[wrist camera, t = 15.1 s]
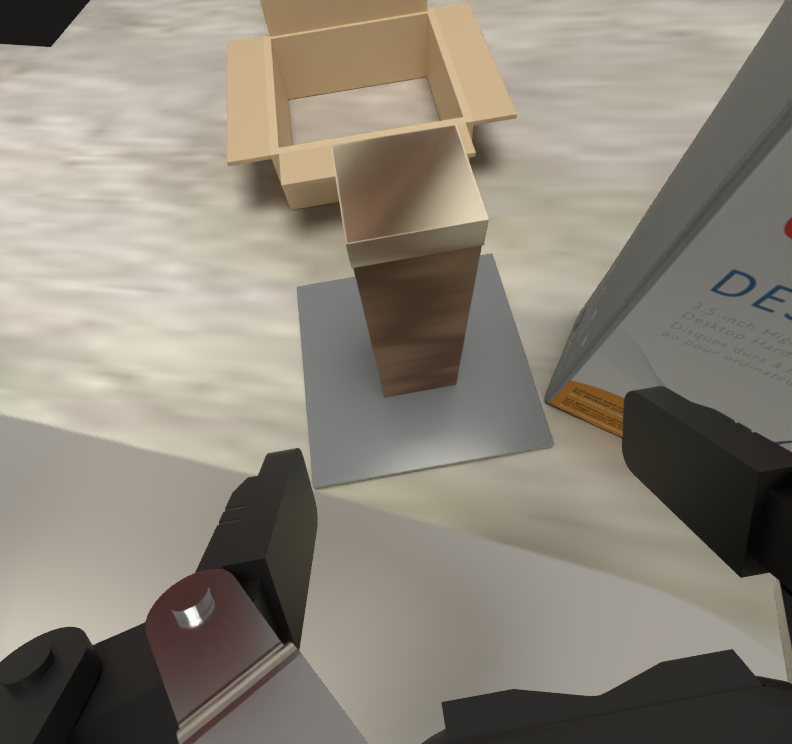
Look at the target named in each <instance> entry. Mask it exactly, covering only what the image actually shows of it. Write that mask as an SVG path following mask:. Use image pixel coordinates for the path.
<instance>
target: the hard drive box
mask: <svg viewBox="0 0 792 744" xmlns="http://www.w3.org/2000/svg"><path fill="white" fill-rule="evenodd" d="M656 386H664V387H666V388H668V389H670V390H672V391H673V392H675V393H677V394H679V395H680V396H682V397H684V398H686V399H687V400H689V401H691V402H693V403H697V404H700V405H703V406H706V407H709V408H713V409H715V410H717V411H719V412H721V413H723V414H724V415H726V416H728V417H730V418H732V419H733V420H735V423H738V422H739V423H741V424H742V425H744V426H746V427H748V428H750V429H751V431H752V432H757V433H759V434H760V435H762V436H764V437H766V438H767V439H769V440H771V441H773V442H775V443H776V444H778V445H780V446H782V447H784V448H785V449H787V450H789V451H791V452H792V0H785V1H784V3H783V5H782V6H781V8H780V10H779V11H778V13H777V14H776V16H775V17H774V19H773V20H772V22H771V23H770V25H769V26H768V28H767V29H766V31H765V33H764V34H763V36H762V37H761V39H760V40H759V42H758V43H757V45H756V46H755V48H754V49H753V51H752V52H751V54H750V55H749V57H748V58H747V60H746V61H745V63H744V65H743V66H742V68H741V69H740V71H739V72H738V74H737V75H736V77H735V78H734V80H733V82H732V83H731V85H730V86H729V88H728V89H727V91H726V92H725V94H724V95H723V97H722V98H721V100H720V101H719V103H718V104H717V106H716V107H715V109H714V110H713V112H712V113H711V115H710V116H709V118H708V120H707V121H706V123H705V124H704V125H703V127H702V128H701V130H700V131H699V133H698V134H697V136H696V138H695V139H694V141H693V142H692V144H691V145H690V147H689V148H688V150H687V151H686V153H685V154H684V156H683V157H682V159H681V160H680V162H679V163H678V165H677V166H676V168H675V169H674V171H673V172H672V174H671V175H670V177H669V178H668V180H667V181H666V183H665V185H664V186H663V188H662V189H661V191H660V192H659V194H658V195H657V197H656V198H655V200H654V201H653V203H652V205H651V206H650V208H649V209H648V211H647V212H646V214H645V215H644V217H643V218H642V220H641V222H640V223H639V225H638V226H637V228H636V229H635V231H634V232H633V234H632V235H631V237H630V239H629V240H628V242H627V243H626V245H625V246H624V248H623V249H622V251H621V252H620V254H619V255H618V257H617V258H616V260H615V261H614V263H613V265H612V266H611V268H610V269H609V271H608V272H607V274H606V275H605V277H604V278H603V280H602V281H601V283H600V284H599V285H598V287H597V288H596V290H595V292H594V293H593V294H592V296H591V297H590V299H589V300H588V302H587V303H586V304H585V306H584V307H583V308H582V310H581V311H580V313H579V316H578V318H577V320H576V323H575V325H574V327H573V330H572V332H571V334H570V337H569V339H568V341H567V344H566V346H565V349H564V351H563V354H562V356H561V359H560V361H559V363H558V366H557V368H556V371H555V373H554V376H553V378H552V381H551V383H550V386H549V388H548V390H547V393H546V397H545V401H546V402H548V403H550V404H552V405H554V406H556V407H558V408H561V409H563V410H565V411H567V412H569V413H571V414H574V415H576V416H578V417H580V418H582V419H584V420H586V421H588V422H590V423H591V424H593V425H595V426H597V427H600V428H602V429H604V430H606V431H609V432H611V433H614V434H616V435H619V436H621V437H622V436H623V410H624V398H625V395H626V394H627V393H628V392H629V391H633V390H639V389H644V388H650V387H656Z"/></svg>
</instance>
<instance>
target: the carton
mask: <svg viewBox="0 0 792 744" xmlns="http://www.w3.org/2000/svg"><path fill="white" fill-rule="evenodd" d="M260 2H261V6H262V9H263V13H264V16H265V19H266V23H267V26H268V30H269V33H270V35H266V36H260V37H254V38H248V39H242V40H236V41H230V42H227V164H228V166H233V165H239V164H245V163H251V162H257V161H263V160H269V159H272V161H273V164H274V166H275V169H276V172H277V174H278V177H279V180H280V182H281V186H282V189H283V190H284V193H285V196H286V198H287V201H288V203H289V206H290V209H291V210H295V209H300V208H306V207H312V206H318V205H324V204H330V203H336V202H339V196H338V190H337V183H336V177H335V170H334V164H333V157H332V151H331V145H336V144H342V143H348V142H354V141H360V140H365V139H371V138H377V137H383V136H389V135H395V134H400V133H406V132H412V131H418V130H424V129H430V128H435V127H441V126H447V125H453V124H456V125H457V128H458V131H459V134H460V137H461V140H462V143H463V146H464V149H465V152H466V154H467V157H468V160H470V157H475V155H476V152H475V149H474V146H473V143H472V134H473V125H478V124H484V123H490V122H496V121H502V120H508V119H514V118H516V115H517V114H516V111H515V109H514V107H513V104H512V102H511V100H510V97H509V95H508V93H507V90H506V88H505V86H504V83H503V81H502V79H501V76H500V74H499V72H498V69H497V67H496V64H495V62H494V60H493V57H492V55H491V53H490V50H489V48H488V46H487V43H486V41H485V39H484V36H483V34H482V32H481V29H480V27H479V25H478V22H477V20H476V18H475V15H474V13H473V10H472V8H471V6H470V3H469V2H468V3H462V4H456V5H450V6H443V7H437V8H431V9H427V0H260ZM421 77H427V78H428V81H429V84H430V87H431V91H432V94H433V97H434V100H435V104H436V107H437V110H438V113H439V116H440V120H441V121H437V122H431V123H425V124H419V125H413V126H407V127H401V128H395V129H389V130H383V131H377V132H371V133H365V134H359V135H353V136H347V137H341V138H335V139H329V140H323V141H317V142H311V143H305V144H299V145H293V144H292V133H291V122H290V111H289V99H295V98H301V97H307V96H313V95H319V94H325V93H331V92H337V91H343V90H349V89H355V88H361V87H367V86H373V85H379V84H385V83H391V82H397V81H403V80H409V79H415V78H421Z"/></svg>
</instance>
